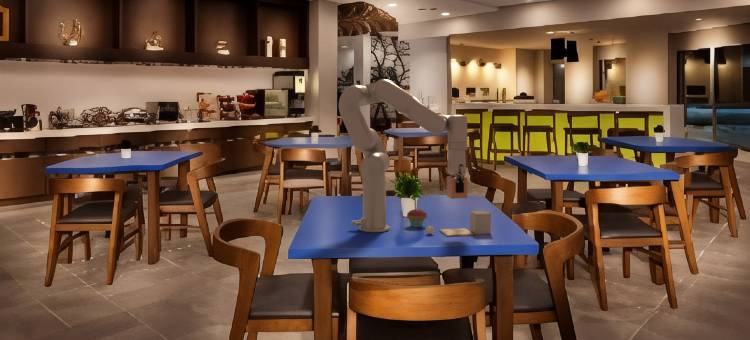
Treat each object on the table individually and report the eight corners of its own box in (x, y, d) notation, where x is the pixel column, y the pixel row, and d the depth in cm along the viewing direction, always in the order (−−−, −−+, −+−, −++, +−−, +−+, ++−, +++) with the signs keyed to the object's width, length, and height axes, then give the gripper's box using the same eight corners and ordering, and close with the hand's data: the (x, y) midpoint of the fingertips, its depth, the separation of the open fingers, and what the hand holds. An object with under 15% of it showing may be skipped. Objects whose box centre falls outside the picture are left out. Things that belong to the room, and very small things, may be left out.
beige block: (475, 234, 244) (475, 214, 243) (470, 230, 250) (470, 211, 249) (490, 233, 245) (490, 213, 244) (484, 230, 251) (485, 210, 250)
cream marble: (426, 235, 242) (426, 227, 242) (424, 233, 245) (424, 225, 245) (434, 234, 242) (434, 226, 242) (432, 233, 246) (432, 225, 245)
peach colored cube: (451, 198, 240) (451, 178, 240) (446, 196, 247) (446, 176, 246) (467, 198, 241) (467, 177, 241) (462, 195, 248) (462, 176, 247)
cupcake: (403, 224, 262) (403, 197, 261) (421, 223, 266) (421, 195, 264) (412, 228, 255) (412, 200, 253) (430, 227, 258) (430, 198, 257)
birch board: (447, 236, 239) (447, 234, 239) (439, 230, 250) (439, 229, 250) (474, 235, 241) (474, 233, 241) (465, 229, 252) (465, 228, 252)
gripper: (441, 145, 250) (441, 188, 252) (454, 148, 233) (454, 194, 235) (459, 144, 251) (459, 188, 253) (473, 147, 234) (473, 194, 236)
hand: (457, 191), depth 244 cm, fingers closed on peach colored cube, 6 cm apart
